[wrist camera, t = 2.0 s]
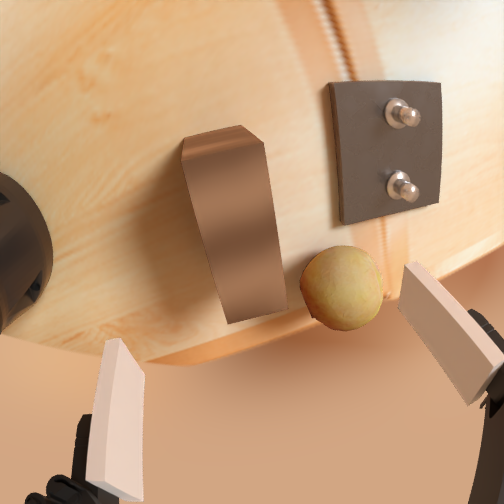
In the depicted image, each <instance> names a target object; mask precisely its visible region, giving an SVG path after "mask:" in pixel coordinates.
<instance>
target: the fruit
mask: <svg viewBox="0 0 504 504" xmlns="http://www.w3.org/2000/svg"><path fill="white" fill-rule="evenodd" d="M300 289H301V292H302V295H303V298H304V300H305V303H306V305H307V307H308V309H309V312H310V314H311V317H312V318H316V320H318V321H320V322H322V323H323V324H324V325H325V326H327V327H329V328H330V329H333V330H340V331H349V330H354V329H358V328H360V327H362V326H364V325H365V324H366V323H368V322H369V321H371V320H372V319H373V318H374V317H375V316H376V315H377V313H378V311H379V309H380V306H381V303H382V301H383V278H382V275H381V272H380V270H379V267H378V265H377V263H376V262H375V260H374V259H373V258H372V257H371V256H370V255H369V254H368V253H367V252H365V251H363V250H361V249H358V248H355V247H352V246H335V247H331V248H328V249H326V250H324V251H322V252H321V253H319V254H318V255H317V256H316V257H315V258H314V259H313V260H312V261H311V262H310V263H309V264H308V266H306V268H305V270H304V271H303V274H302V277H301V279H300Z"/></svg>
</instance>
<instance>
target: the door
mask: <svg viewBox="0 0 504 504" xmlns="http://www.w3.org/2000/svg"><path fill="white" fill-rule="evenodd" d="M181 164H182V168H183V171H184V175H185V179H186V183H187V187H188V190H189V194H190V198H191V202H192V205H193V209H194V212H195V216H196V220H197V223H198V227H199V230H200V234H201V237H202V241H203V244H204V248H205V251H206V255H207V258H208V261H209V265H210V268H211V272H212V275H213V278H214V281H215V285H216V288H217V291H218V295H219V298H220V301H221V304H222V307H223V311H224V314H225V317H226V320H227V323H228V324H231V323H236V322H240V321H244V320H248V319H252V318H256V317H259V316H263V315H267V314H271V313H275V312H279V311H282V310H286V309H288V304H287V296H286V289H285V281H284V274H283V267H282V260H281V253H280V246H279V239H278V232H277V225H276V218H275V212H274V205H273V198H272V192H271V186H270V179H269V173H268V167H267V161H266V155H265V148H264V142H262V141H261V140H260V139H258V138H257V137H256V136H255V135H253V134H252V133H251V132H250V131H248V130H247V129H246V128H244V127H243V126H242V125H238V126H233V127H228V128H224V129H219V130H215V131H210V132H206V133H202V134H198V135H193V136H189V137H186V138H184V143H183V150H182V157H181Z"/></svg>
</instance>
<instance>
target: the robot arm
mask: <svg viewBox="0 0 504 504" xmlns="http://www.w3.org/2000/svg"><path fill="white" fill-rule="evenodd" d="M52 266H53V249H52V242H51V238H50V234H49V231H48V228H47V225H46V222H45V220H44V218H43V216H42V214H41V212H40V210H39V208H38V207H37V205H36V203H35V202H34V200H33V199H32V198H31V196H30V195H29V194H28V193H27V192H26V190H25V189H24V188H23V187H22V186H21V185H19V184H18V183H17V182H16V181H15V180H13V179H12V178H10V177H9V176H7V175H5V174H3V173H1V172H0V334H1V332H2V330H3V329H5V328H6V327H7V326H8V325H9V324H11V323H12V322H13V321H14V320H16V319H17V318H18V317H19V316H21V315H22V314H23V313H24V312H26V311H27V310H28V309H29V308H31V307H32V306H33V305H34V304H35V303H36V301H37V300H38V299H39V297H40V296H41V294H42V292H43V290H44V288H45V287H46V285H47V283H48V281H49V278H50V275H51V272H52ZM398 309H399V310H400V312H401V313H402V314H403V315H404V317H405V318H406V320H407V321H408V322H409V323H410V325H411V326H412V327H413V329H414V330H415V331H416V333H417V334H418V335H419V337H420V338H421V340H422V341H423V342H424V344H425V345H426V346H427V348H428V349H429V350H430V352H431V353H432V355H433V356H434V357H435V359H436V360H437V362H438V363H439V364H440V366H441V367H442V369H443V370H444V372H445V373H446V374H447V376H448V377H449V379H450V380H451V382H452V383H453V385H454V386H455V388H456V389H457V391H458V392H459V394H460V395H461V397H462V398H463V400H464V401H465V403H466V404H467V406H468V405H470V404H472V403H473V402H474V401H476V400H478V399H479V398H480V397H481V396H482V394H483V393H484V392H485V390H486V391H487V393H488V395H487V397H486V398H485V399H484V401H483V402H482V403H481V405H480V408H483V406H484V405H485V404H486V407H485V409H486V410H485V419H484V428H483V435H482V442H481V448H480V454H479V459H478V464H477V469H476V474H475V478H474V482H473V486H472V490H471V494H470V498H469V501H468V504H504V339H503V338H502V337H501V336H500V335H499V333H498V332H497V331H496V330H494V328H493V326H491V324H489V323H488V321H487V320H486V319H485V318H484V316H482V315H481V314H480V313H478V312H477V311H475V310H473V309H470V310H468V311H466V310H465V309H464V308H463V307H462V306H461V305H460V304H459V303H458V302H457V301H456V299H454V297H453V296H452V295H451V294H450V293H449V292H448V291H447V290H446V289H445V288H444V287H443V286H442V285H441V284H440V283H439V282H438V281H437V280H436V279H435V278H434V277H433V276H432V275H431V274H430V273H429V272H428V271H427V270H426V269H425V268H424V267H423V266H422V265H421V264H420V263H419V262H418V261H415V262H412V263H409V264H406V265H404V272H403V279H402V286H401V292H400V298H399V304H398ZM144 383H145V374H144V373H143V371H142V370H141V368H140V367H139V365H138V364H137V362H136V361H135V359H134V358H133V356H132V355H131V353H130V352H129V350H128V349H127V347H126V345H125V344H124V342H123V341H122V339H121V338H115V339H110V340H106V342H105V346H104V351H103V356H102V361H101V366H100V372H99V377H98V382H97V388H96V394H95V399H94V406H93V413H92V414H85V415H83V416H82V418H81V420H80V421H79V423H78V426H77V433H76V437H77V438H76V440H75V448H74V457H73V465H72V475H71V479H70V478H68V477H66V476H64V475H55V476H53V477H52V478H51V479H50V480H49V481H48V483H47V486H46V494H47V496H43V495H41V494H39V493H31V494H29V495H28V496H27V498H26V499H25V504H119V498H120V499H123V500H125V501H137V502H138V501H141V502H143V501H144V500H143V468H142V467H143V466H142V465H143V464H142V440H143V437H142V436H143V403H144V402H143V401H144Z"/></svg>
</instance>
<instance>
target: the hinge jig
mask: <svg viewBox="0 0 504 504" xmlns="http://www.w3.org/2000/svg"><path fill="white" fill-rule="evenodd" d="M329 89H330V97H331V105H332V114H333V124H334V134H335V145H336V157H337V170H338V186H339V205H340V221H341V222H342V223H343V224H344V225H348V224H352V223H356V222H360V221H364V220H369V219H373V218H377V217H381V216H385V215H389V214H393V213H398V212H402V211H406V210H410V209H414V208H418V207H423V206H427V205H431V204H435V203H439V193H440V180H441V163H442V96H441V83H437V82H425V81H393V80H378V81H346V82H329Z"/></svg>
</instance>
